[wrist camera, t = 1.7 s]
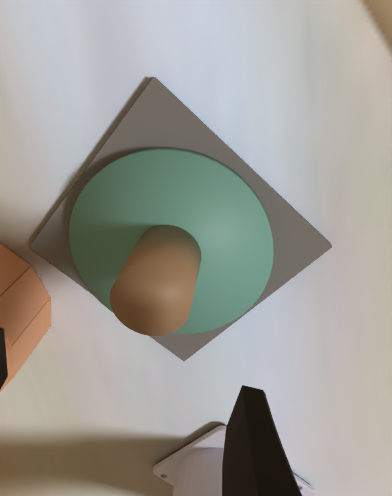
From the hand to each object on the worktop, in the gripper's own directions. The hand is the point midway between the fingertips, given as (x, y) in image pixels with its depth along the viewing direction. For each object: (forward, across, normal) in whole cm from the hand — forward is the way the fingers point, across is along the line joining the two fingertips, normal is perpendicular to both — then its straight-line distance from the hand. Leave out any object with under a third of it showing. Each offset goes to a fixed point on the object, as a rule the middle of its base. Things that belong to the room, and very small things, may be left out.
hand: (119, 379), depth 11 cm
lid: (+9, 0, 0) cm, 9 cm away
